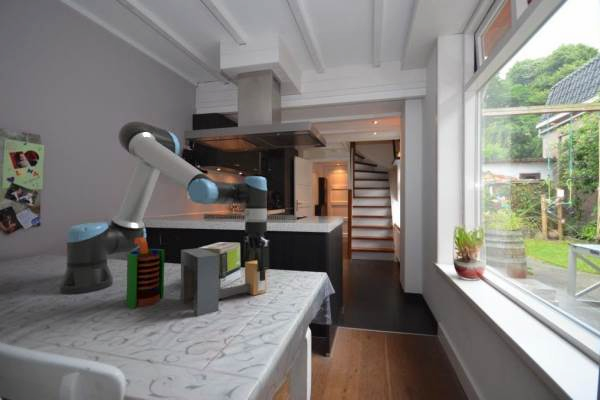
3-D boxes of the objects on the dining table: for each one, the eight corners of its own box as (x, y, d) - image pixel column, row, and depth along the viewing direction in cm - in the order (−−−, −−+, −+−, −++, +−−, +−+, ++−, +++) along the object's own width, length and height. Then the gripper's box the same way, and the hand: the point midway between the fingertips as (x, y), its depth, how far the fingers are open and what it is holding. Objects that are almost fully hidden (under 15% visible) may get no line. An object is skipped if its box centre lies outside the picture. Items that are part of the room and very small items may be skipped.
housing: (180, 301, 84) (181, 250, 84) (199, 296, 88) (200, 248, 88) (197, 316, 72) (197, 257, 72) (218, 310, 76) (218, 254, 76)
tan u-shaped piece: (195, 302, 82) (195, 269, 82) (257, 287, 96) (257, 260, 96) (202, 308, 78) (202, 273, 78) (266, 292, 92) (266, 263, 92)
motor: (143, 309, 77) (144, 240, 77) (117, 307, 79) (118, 239, 79) (167, 297, 87) (168, 236, 87) (144, 295, 89) (144, 235, 89)
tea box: (220, 276, 113) (220, 241, 113) (241, 278, 110) (241, 242, 110) (196, 286, 98) (197, 246, 99) (220, 289, 95) (220, 248, 96)
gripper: (233, 220, 98) (233, 283, 97) (261, 222, 83) (261, 297, 83) (251, 219, 103) (251, 279, 102) (280, 221, 88) (280, 292, 88)
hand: (255, 287), depth 92 cm, fingers closed on tan u-shaped piece, 6 cm apart
